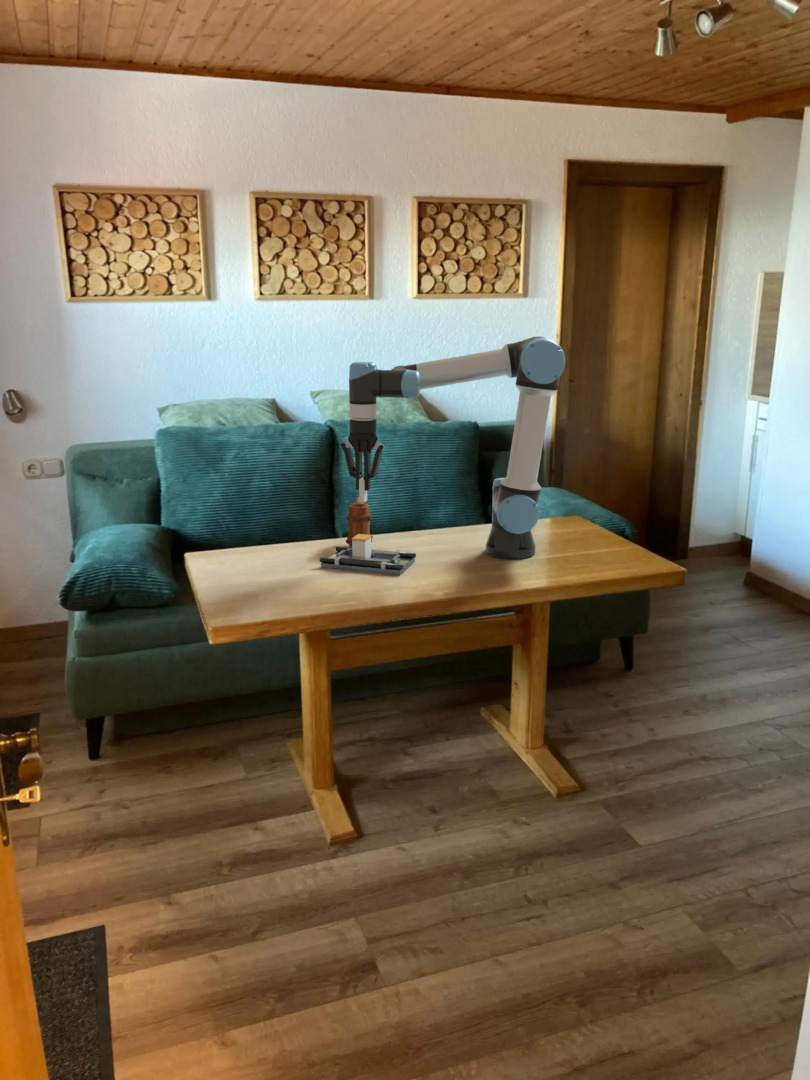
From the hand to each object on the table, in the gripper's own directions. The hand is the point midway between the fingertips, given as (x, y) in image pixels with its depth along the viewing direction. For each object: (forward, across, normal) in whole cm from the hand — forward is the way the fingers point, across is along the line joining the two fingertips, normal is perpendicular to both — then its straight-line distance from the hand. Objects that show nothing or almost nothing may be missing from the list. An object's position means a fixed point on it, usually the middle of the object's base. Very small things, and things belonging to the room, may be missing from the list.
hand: (363, 501), depth 245 cm
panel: (+19, -2, 0) cm, 19 cm away
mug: (+19, +7, -17) cm, 27 cm away
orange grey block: (+18, 0, 0) cm, 18 cm away
